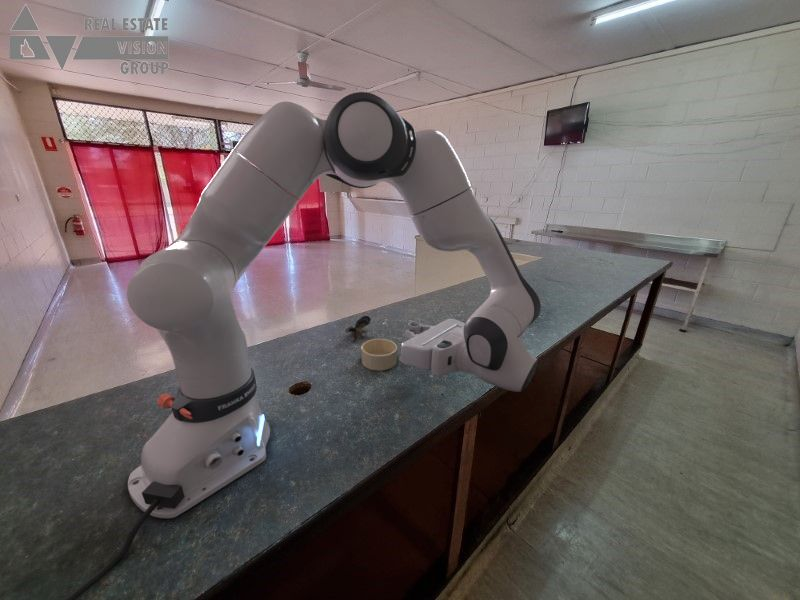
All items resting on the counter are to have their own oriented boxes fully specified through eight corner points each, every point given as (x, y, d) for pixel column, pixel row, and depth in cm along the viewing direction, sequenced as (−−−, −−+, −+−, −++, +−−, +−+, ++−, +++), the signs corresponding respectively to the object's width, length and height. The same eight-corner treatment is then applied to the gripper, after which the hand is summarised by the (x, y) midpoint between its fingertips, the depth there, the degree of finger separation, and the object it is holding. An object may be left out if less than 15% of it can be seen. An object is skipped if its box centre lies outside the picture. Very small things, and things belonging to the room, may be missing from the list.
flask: (432, 357, 82) (434, 322, 78) (418, 370, 76) (420, 333, 73) (408, 349, 86) (409, 315, 82) (393, 361, 80) (394, 325, 76)
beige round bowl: (384, 374, 84) (384, 359, 82) (354, 363, 88) (354, 349, 87) (403, 357, 92) (403, 344, 90) (374, 348, 97) (374, 335, 95)
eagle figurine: (371, 340, 99) (376, 323, 107) (358, 323, 96) (363, 308, 104) (352, 349, 102) (358, 332, 110) (339, 333, 99) (345, 317, 107)
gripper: (483, 321, 76) (436, 307, 85) (434, 353, 62) (383, 331, 70) (480, 344, 79) (434, 328, 87) (432, 380, 64) (383, 356, 73)
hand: (411, 330), depth 79 cm, fingers closed on flask, 2 cm apart
